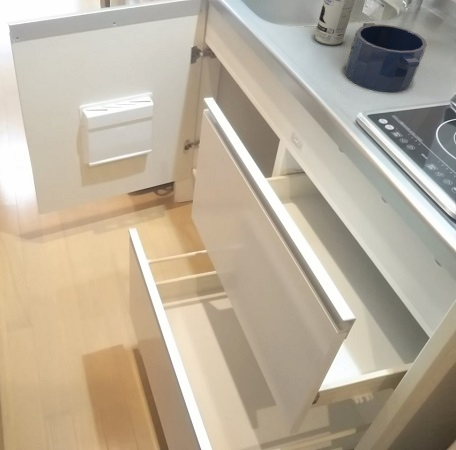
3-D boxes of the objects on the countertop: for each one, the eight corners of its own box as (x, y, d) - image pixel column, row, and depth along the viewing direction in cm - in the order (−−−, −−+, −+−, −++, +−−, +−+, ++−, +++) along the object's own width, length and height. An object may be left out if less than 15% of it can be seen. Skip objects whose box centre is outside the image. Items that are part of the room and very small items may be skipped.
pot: (385, 56, 118) (398, 18, 113) (430, 97, 105) (448, 57, 99) (329, 58, 116) (340, 20, 111) (368, 100, 103) (382, 59, 97)
